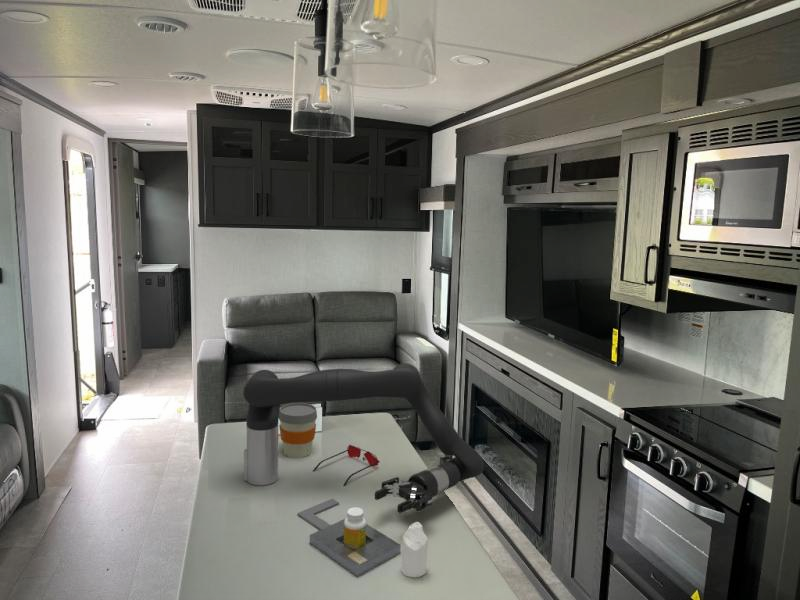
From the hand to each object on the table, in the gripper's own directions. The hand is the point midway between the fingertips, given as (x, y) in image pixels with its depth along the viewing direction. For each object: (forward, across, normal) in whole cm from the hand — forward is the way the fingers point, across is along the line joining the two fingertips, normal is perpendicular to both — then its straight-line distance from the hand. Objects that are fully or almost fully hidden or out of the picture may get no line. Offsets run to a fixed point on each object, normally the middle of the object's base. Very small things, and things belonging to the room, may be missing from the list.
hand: (386, 502), depth 156 cm
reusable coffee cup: (-11, -54, +8) cm, 55 cm away
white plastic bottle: (+6, +16, +8) cm, 19 cm away
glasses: (-15, -33, +9) cm, 38 cm away
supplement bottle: (+11, 0, +8) cm, 14 cm away
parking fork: (+6, -14, +8) cm, 17 cm away
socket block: (+11, 0, +8) cm, 14 cm away
